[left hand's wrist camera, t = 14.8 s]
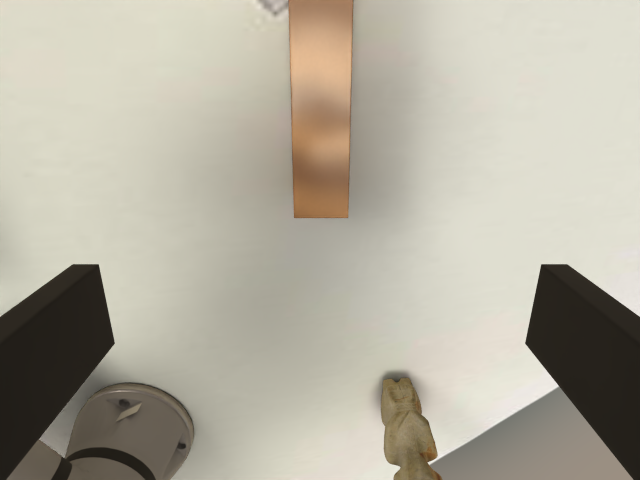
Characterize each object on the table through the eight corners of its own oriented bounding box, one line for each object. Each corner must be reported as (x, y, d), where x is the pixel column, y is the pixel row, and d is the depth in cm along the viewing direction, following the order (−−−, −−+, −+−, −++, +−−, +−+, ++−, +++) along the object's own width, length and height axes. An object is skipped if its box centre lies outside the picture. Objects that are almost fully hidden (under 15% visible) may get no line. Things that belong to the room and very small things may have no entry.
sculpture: (373, 415, 56) (392, 526, 42) (374, 371, 53) (394, 473, 39) (417, 414, 56) (449, 525, 42) (420, 370, 53) (456, 472, 39)
